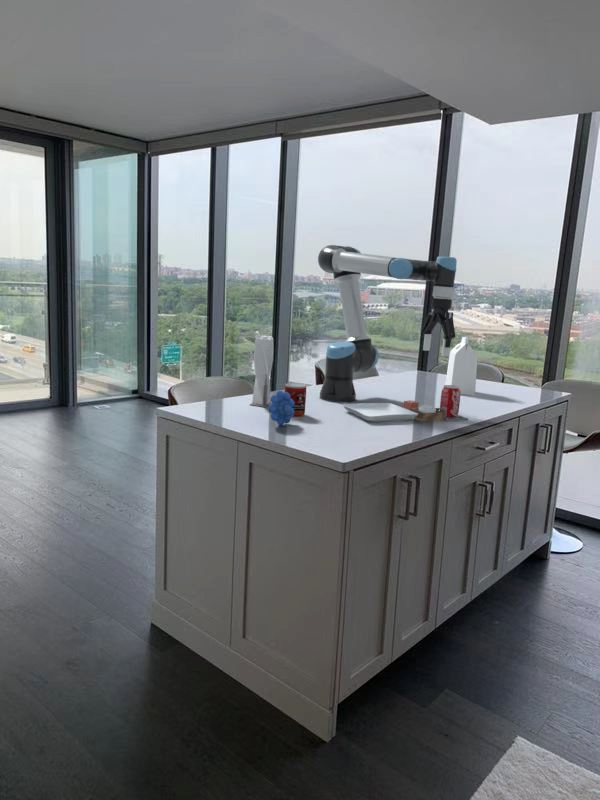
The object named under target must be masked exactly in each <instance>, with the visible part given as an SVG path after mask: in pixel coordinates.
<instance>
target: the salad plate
mask: <svg viewBox="0 0 600 800" xmlns="http://www.w3.org/2000/svg"><path fill="white" fill-rule="evenodd" d="M342 407H343V408H344V410H346V411H347V412H349V413H351V414H353V415H355V416H357V417H359V418H361V419H363V420H365V419H366V421H368V422H371V421H372V423H373V422H374V423H381V422H382V421H383V422H384V421H387V422H403V420H404V421H406V420H411V419H415V418H414V417H416V416H417V415H418V413H415V412H413V411H410V410H408V409H405V408H403V407H402V406H399V405H397V404H394V403H391V402H376V403H375V402H370V403H369V402H365V403H348V404H346V403H345V404H344V403H343V404H342Z"/></svg>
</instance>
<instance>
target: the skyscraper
mask: <svg viewBox="0 0 600 800" xmlns="http://www.w3.org/2000/svg"><path fill="white" fill-rule="evenodd" d="M257 334H258V335H257ZM274 347H275V346H274V338H273V336H271V335H269V336H268V335H260V333H259V331H257V330H256V331H255V340H254V348H253V349H254V350H253V367H254V374H255V380H254V384H253V385H254V386H253V394H252V402H251V403H249V406H252V407H257V408H269V405H270V404H273V403H272V402H271V397H272V395H271V393H272V392H271V379H270V378H271V377H270V376H271V372H272V367H273V363H274V350H275V349H274Z"/></svg>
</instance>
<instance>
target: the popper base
mask: <svg viewBox="0 0 600 800" xmlns="http://www.w3.org/2000/svg"><path fill="white" fill-rule="evenodd" d="M418 409H419V407H418V408H410V411H413V412H415V413H418V415H417V416H416V417H414V418H413V419H415V418H416V420H418V419H419V420H418V421H420V420H421V421H420V422H422V421H425V422H443V421H444V413H443V412H441V411H440V410H436V413H423V412H420V411H418Z"/></svg>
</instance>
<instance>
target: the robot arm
mask: <svg viewBox="0 0 600 800" xmlns="http://www.w3.org/2000/svg"><path fill="white" fill-rule="evenodd" d="M317 262H318V265H319V267H320V269H321V270H323V272H325V273H327V274H332V275H333V280H334V282H335V283H337V284H338V289H339V295H340V303H341V308H342V309H341V310H342V314H343V320H344V329H345V334H346V339H345V341H337V342H336V341H335V342H332V343H329V344H328V345H327V348H326V353H325V356H326V357H325V374H324V381H323V382H322V383H323V384H322V386H321V389H320V392H319V398H320V399H321V400H323V401H328V402H335V403H336V402H337V403H350V402H351V403H352V402H355V401H356V397H357V394H356V393H357V392H356V389H355V386H354V373H361V372H362V373H364V372H367V371H371V370H372V369H374V368H375V367H376V365H377V364H378V361H379V358H380V357H379V351H378V348H377V347H376V346H375V345H373V343H372V338H371V337H370V336H368V335H367V329H366V323H365V315H364V310H363V309H364V308H363V303H362V296H361V291H360V284H359V280H360V278H361V277H362V274H363V275H365V274H366V275H372V276H373V275H374V276H380V277H387V278H393V279H396V280H411V281H425V282H433V288H432V297H433V298H431V308H432V309H431V308H430V309H429V308H428V312H427V315H426V317H425V320H424V323H423V325H422V327H421V332H423V334H424V337H423V348H422V351H426V352H427V351H430V350H431V343H432V337H433V336H432V334H433V330H434V328H435V327H436V325H437V324H438V323H439V325H440V326H441V329H442V332H443V335H444V337H443V340H442V349H441V356H442V357H449V356H450V349H451V344H452V343H451V342H452V339H455V338H456V332H455V325H454V312H452V311H451V312H449V310H451V309H452V304H453V299H452V298H453V295H454V285H455V280H456V279H455V277H456V274H457V273H456V272H457V258H456V257H454V256H437V258H436V261H429V260H419V259H410V258H403V257H392V256H385V255H377V254H368V253H362V252H361V251H360V250H358V248H355V247H351V246H348V245H347V246H343V245H336V244H330V245H326V246H324V247H323V248H322V249H321V250H320V251H319V253H318V256H317Z"/></svg>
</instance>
